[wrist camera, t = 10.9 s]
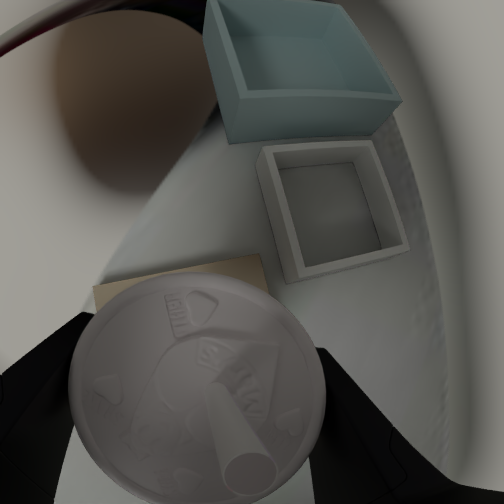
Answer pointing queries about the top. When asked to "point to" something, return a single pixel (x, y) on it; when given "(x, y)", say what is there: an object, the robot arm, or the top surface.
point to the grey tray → (373, 188)
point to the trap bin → (293, 71)
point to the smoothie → (197, 390)
